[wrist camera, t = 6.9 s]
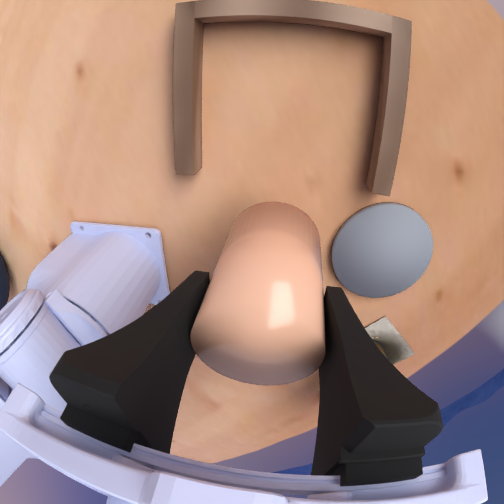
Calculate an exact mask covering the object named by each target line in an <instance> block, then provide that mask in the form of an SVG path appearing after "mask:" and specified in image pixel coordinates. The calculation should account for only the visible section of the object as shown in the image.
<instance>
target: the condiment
mask: <svg viewBox="0 0 504 504" xmlns="http://www.w3.org/2000/svg"><path fill="white" fill-rule="evenodd" d="M365 330H366V331H367V333H368V334H369V335H370V337H374V338H372V340H373V341H374V343H375V344H376V345H377V347H378V348H379V349H380V351H381V352H382V353H383V354H384V355H385V357H386V358H387V359H388V360H389V361H390V362H391V363H392V364H395V363H397V362H399V361H401V360H404V359H406V358H408V357H410V356H412V355H414V353H413V351H412V350H411V348H410V347H409V346H408V344H407V343H406V342H405V340H404V339H403V338H402V336H401V335H400V334H399V332H398V331H397V330H396V329H395V328H394V326H393V325H392V324H391V323H390V322H389V320H388V319H387V318H386V317H383V318H381V319H380V320H379V321H377V322H375V323H372V324H371V325H369V326H368V327H366V328H365ZM375 337H379V338H375Z"/></svg>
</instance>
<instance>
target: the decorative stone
mask: <svg viewBox="0 0 504 504" xmlns="http://www.w3.org/2000/svg"><path fill="white" fill-rule="evenodd" d="M9 290H10V286H9V275H8V271H7V268H6V267H5V264H4V261H3V258H2V256H1V255H0V310H1V309H2V308H3V307H4V306H5V305H6V304H7V301H8V297H9Z"/></svg>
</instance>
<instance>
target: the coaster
mask: <svg viewBox="0 0 504 504" xmlns="http://www.w3.org/2000/svg"><path fill="white" fill-rule="evenodd" d="M432 252H433V238H432V234H431V231H430V229H429V227H428V225H427V223H426V222H425V221H424V219H423V218H422V217H421V216H420V215H419V214H418V213H417V212H416V211H415V210H413V209H412V208H410V207H408V206H406V205H403V204H399V203H393V202H382V203H376V204H373V205H369V206H367V207H365V208H362V209H361V210H359V211H357V212H356V213H354V214H353V215H352V216H350V217H349V218H348V219H347V220H346V221H345V222H344V224H343V225H342V226H341V227H340V229H339V231H338V232H337V234H336V237H335V239H334V242H333V246H332V263H333V268H334V271H335V274H336V276H337V278H338V279H339V281H340V282H341V283H342V284H343V285H344V287H346V288H347V289H348V290H350V291H351V292H353V293H355V294H358V295H361V296H364V297H370V298H381V297H387V296H391V295H395V294H397V293H400V292H402V291H404V290H406V289H407V288H409V287H410V286H412V285H413V284H414V283H415V282H416V281H417V280H418V279H419V278H420V277H421V276H422V275H423V273H424V272H425V270H426V269H427V267H428V265H429V263H430V260H431V257H432Z"/></svg>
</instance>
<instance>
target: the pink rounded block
mask: <svg viewBox="0 0 504 504" xmlns="http://www.w3.org/2000/svg"><path fill="white" fill-rule="evenodd" d="M190 337H191V344H192V347H193V349H194V351H195V353H196V354H197V356H198V357H199V358H200V359H201V360H202V361H203V362H204V363H205V364H206V365H207V366H209V367H210V368H211V369H213V370H214V371H216V372H218V373H220V374H222V375H224V376H226V377H228V378H231V379H234V380H237V381H240V382H244V383H249V384H256V385H281V384H287V383H292V382H295V381H298V380H301V379H303V378H305V377H307V376H309V375H310V374H312V373H313V372H315V371H316V370H317V369H318V368H319V366H320V365H321V364H322V362H323V360H324V357H325V317H324V293H323V275H322V259H321V246H320V236H319V232H318V229H317V227H316V225H315V223H314V222H313V221H312V219H311V218H310V217H309V216H308V215H307V214H306V213H304V212H303V211H302V210H300V209H299V208H297V207H294V206H292V205H289V204H286V203H281V202H264V203H259V204H256V205H253V206H251V207H249V208H248V209H246V210H244V211H243V212H242V213H241V214H240V215H239V216H238V217H237V218H236V220H235V221H234V223H233V225H232V228H231V230H230V233H229V235H228V238H227V240H226V243H225V245H224V248H223V250H222V253H221V255H220V258H219V260H218V263H217V265H216V268H215V270H214V273H213V275H212V278H211V280H210V283H209V286H208V288H207V291H206V293H205V296H204V299H203V301H202V304H201V306H200V309H199V312H198V314H197V317H196V319H195V322H194V325H193V327H192V330H191V335H190Z"/></svg>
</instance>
